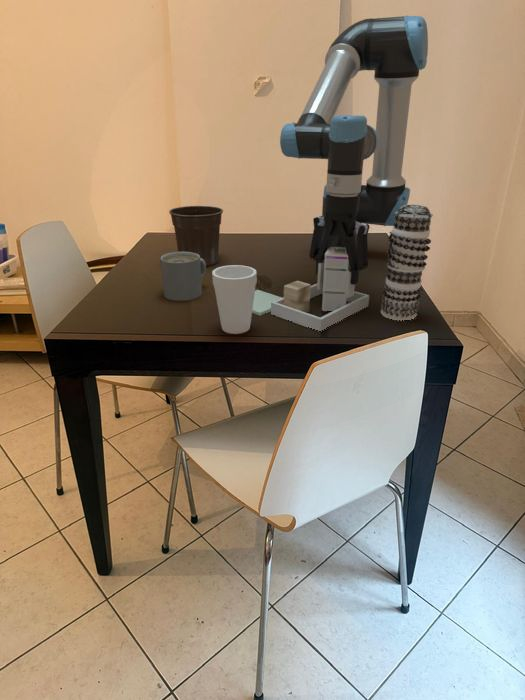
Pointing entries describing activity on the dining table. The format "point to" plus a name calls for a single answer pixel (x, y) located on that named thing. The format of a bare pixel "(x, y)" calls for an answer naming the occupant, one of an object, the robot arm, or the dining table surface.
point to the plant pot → (198, 231)
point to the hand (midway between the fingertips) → (335, 291)
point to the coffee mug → (182, 275)
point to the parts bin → (321, 323)
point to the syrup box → (335, 278)
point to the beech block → (297, 296)
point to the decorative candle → (406, 262)
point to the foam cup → (235, 296)
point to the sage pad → (263, 302)
